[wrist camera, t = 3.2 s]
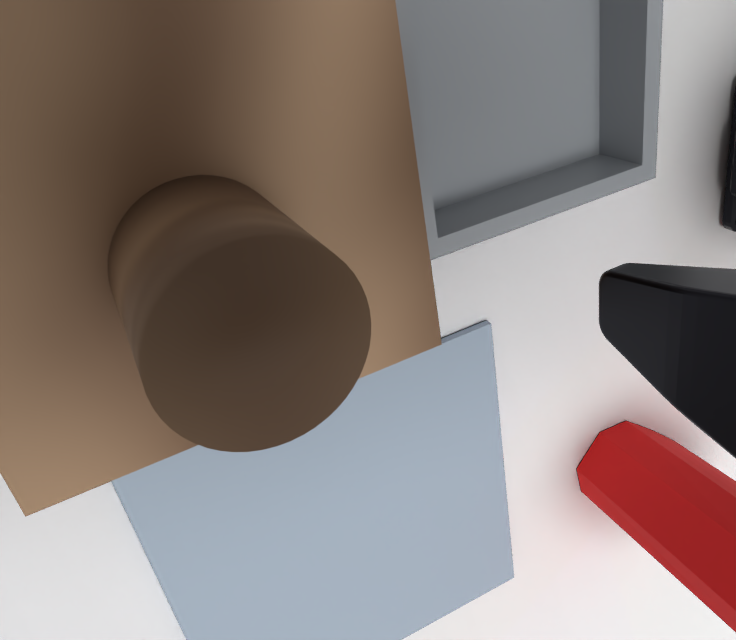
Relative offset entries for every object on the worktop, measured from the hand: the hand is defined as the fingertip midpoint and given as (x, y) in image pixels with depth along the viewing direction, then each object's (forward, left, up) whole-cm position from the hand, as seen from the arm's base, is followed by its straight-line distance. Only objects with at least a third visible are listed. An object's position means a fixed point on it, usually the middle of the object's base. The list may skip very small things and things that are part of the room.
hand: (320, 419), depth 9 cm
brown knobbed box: (0, -1, -12) cm, 12 cm away
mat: (-3, +15, -12) cm, 19 cm away
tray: (-11, -1, -12) cm, 16 cm away
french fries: (-17, +19, -12) cm, 28 cm away
